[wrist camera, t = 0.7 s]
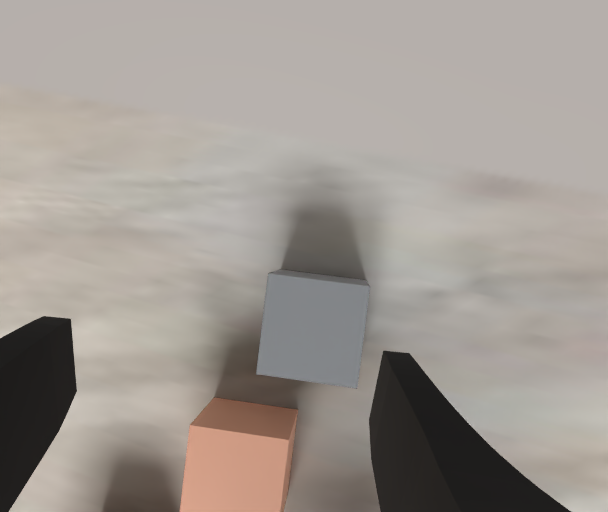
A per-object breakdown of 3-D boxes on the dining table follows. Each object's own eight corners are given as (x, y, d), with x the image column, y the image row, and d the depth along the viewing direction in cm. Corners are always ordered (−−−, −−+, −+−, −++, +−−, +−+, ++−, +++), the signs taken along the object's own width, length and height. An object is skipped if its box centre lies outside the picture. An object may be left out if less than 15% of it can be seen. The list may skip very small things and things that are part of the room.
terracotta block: (287, 493, 31) (276, 539, 26) (204, 479, 32) (178, 523, 27) (298, 409, 31) (288, 440, 26) (214, 397, 32) (190, 425, 27)
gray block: (355, 365, 31) (357, 388, 26) (270, 354, 31) (256, 374, 26) (366, 279, 31) (370, 286, 26) (280, 269, 31) (268, 273, 26)
